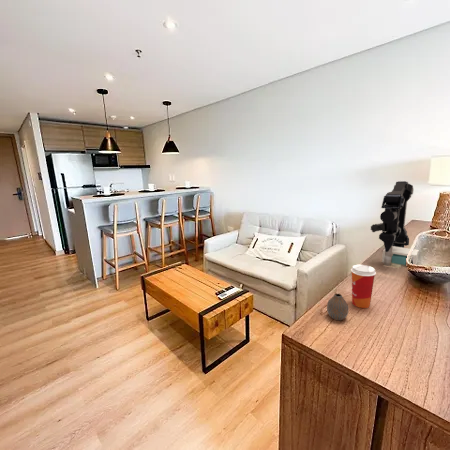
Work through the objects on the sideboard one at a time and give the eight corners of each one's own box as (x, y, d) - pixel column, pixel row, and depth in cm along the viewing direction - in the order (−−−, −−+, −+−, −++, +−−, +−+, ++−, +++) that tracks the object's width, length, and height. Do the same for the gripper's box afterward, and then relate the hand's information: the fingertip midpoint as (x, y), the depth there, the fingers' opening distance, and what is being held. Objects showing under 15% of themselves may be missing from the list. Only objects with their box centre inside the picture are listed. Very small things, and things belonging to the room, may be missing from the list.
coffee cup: (353, 296, 100) (355, 262, 96) (376, 303, 94) (379, 267, 91) (345, 305, 94) (347, 268, 91) (369, 312, 88) (372, 274, 85)
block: (393, 259, 132) (394, 252, 131) (407, 261, 128) (408, 254, 127) (391, 262, 127) (392, 255, 127) (405, 265, 123) (406, 257, 123)
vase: (322, 315, 88) (323, 293, 87) (336, 309, 91) (337, 288, 89) (338, 325, 82) (339, 302, 80) (352, 319, 85) (353, 296, 83)
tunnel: (385, 259, 136) (386, 245, 135) (417, 264, 127) (418, 249, 125) (381, 264, 129) (382, 250, 128) (414, 270, 120) (416, 255, 118)
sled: (388, 259, 135) (390, 239, 132) (409, 263, 128) (412, 242, 126) (382, 267, 125) (384, 245, 122) (405, 271, 118) (408, 249, 116)
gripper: (377, 214, 132) (375, 242, 135) (368, 221, 119) (366, 251, 122) (402, 216, 124) (399, 245, 128) (395, 223, 111) (392, 255, 114)
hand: (388, 249), depth 123 cm, fingers open, 9 cm apart
